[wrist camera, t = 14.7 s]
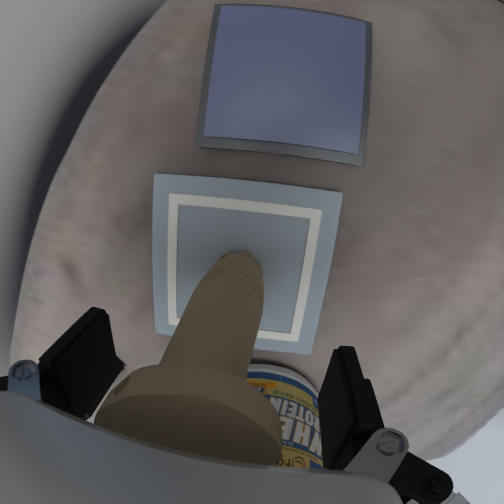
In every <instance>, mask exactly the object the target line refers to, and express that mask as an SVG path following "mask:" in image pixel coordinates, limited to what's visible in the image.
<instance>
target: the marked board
mask: <svg viewBox="0 0 504 504" xmlns="http://www.w3.org/2000/svg"><path fill="white" fill-rule="evenodd" d="M342 198H343V193H342V192H338V191H332V190H325V189H319V188H312V187H304V186H297V185H289V184H281V183H273V182H264V181H255V180H245V179H235V178H224V177H212V176H199V175H185V174H168V173H155V174H154V187H153V218H152V267H153V298H154V316H155V331H156V333H158V334H163V335H169V336H173V334H174V332H175V330H176V328H177V325H178V323H179V321H180V319H181V317H182V314H183V312H184V310H185V308H186V306H187V304H188V301H189V299H190V297H191V295H192V293H193V291H194V290H195V288H196V287H197V285H198V284H199V282H200V281H201V279H202V278H203V277H204V275H205V274H206V273H207V272H208V270H209V269H210V268H211V267H212V266H213V265H214V264H215V263H216V262H217V261H218V259H219V258H220V257H221V256H222V255H223V254H225V253H226V252H231V253H238V252H242V251H244V250H248V251H250V252H251V253H252V256H253V258H254V259H255V260H256V261H257V262H258V263H261V265H262V268H263V275H262V277H263V283H264V305H263V313H262V318H261V322H260V326H259V330H258V334H257V337H256V341H255V345H254V349H259V350H268V351H277V352H287V353H298V354H311V351H312V347H313V343H314V339H315V335H316V331H317V326H318V322H319V318H320V314H321V309H322V305H323V300H324V296H325V291H326V286H327V282H328V277H329V272H330V267H331V262H332V257H333V251H334V246H335V240H336V235H337V229H338V223H339V217H340V211H341V204H342Z"/></svg>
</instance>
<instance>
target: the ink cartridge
mask: <svg viewBox="0 0 504 504" xmlns="http://www.w3.org/2000/svg"><path fill="white" fill-rule="evenodd" d="M123 369H124V365H122V364H121V363H120V362H119V361H118V360H117V367H116V369H115V371H114V372H113V374H112V375H111V376H110V378H109V379H108V381H107V382H106V384H105V385H104V387H103V388H102V390H101V391H100V393H99V394H98V396H97V397H96V399H95V400H94V402H93V403H92V405H91V406H90V408H89V409H88V411H87V412H86V414H85V415H84V417H83V418H82V419H83V420H85V421H86V420H87V419H88V418H90V417H91V416H92V414H93V413H94V411H95V410H96V408H97V406H98V405H99V403H100V402H101V400H102V399H103V397H104V396H105V394H106V393H107V391H108V390H109V388H110V387H111V385H112V384H113V382H114V381H115V379H116V378H117V376H118V375H119V373H120V372H121V371H122V370H123Z"/></svg>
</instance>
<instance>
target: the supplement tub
mask: <svg viewBox="0 0 504 504" xmlns="http://www.w3.org/2000/svg"><path fill="white" fill-rule="evenodd" d="M245 381H247V382H248V383H250V384H251V385H252V386H253V387H255V388H256V389H257V390H259V391H260V392H261V393H262V394H263V395H264V396H265V397H266V398H267V399H268V400H269V401H270V402H271V403H272V404H273V406H274V407H275V409H276V410H277V412H278V414H279V417H280V420H281V425H282V458H281V459H280V460H279V461H278V462H277V463H275V464H274V465H273V466H283V467H298V468H316V469H324V468H323V460H322V446H321V434H320V423H319V412H318V396H319V395H318V393H317V392H316V390H315V389H314V387H313V386H312V385H311V384H310V382H308V381H307V380H306V379H305V378H304V377H302V376H301V375H299V374H298V373H296V372H294V371H292V370H290V369H287V368H284V367H280V366H275V365H269V364H249V368H248V372H247V376H246V380H245Z"/></svg>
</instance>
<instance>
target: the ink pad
mask: <svg viewBox="0 0 504 504" xmlns="http://www.w3.org/2000/svg"><path fill="white" fill-rule="evenodd" d="M371 60H372V22H368V21H364V20H360V19H356V18H352V17H347V16H343V15H338V14H333V13H327V12H321V11H315V10H309V9H301V8H293V7H284V6H272V5H256V4H215V7H214V12H213V18H212V24H211V30H210V36H209V42H208V48H207V55H206V62H205V69H204V77H203V84H202V92H201V100H200V109H199V118H198V128H197V138H196V147H204V148H220V149H233V150H245V151H255V152H265V153H274V154H282V155H290V156H298V157H305V158H312V159H319V160H325V161H332V162H338V163H343V164H349V165H355V166H361V167H363V162H364V153H365V145H366V135H367V125H368V113H369V100H370V84H371Z"/></svg>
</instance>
